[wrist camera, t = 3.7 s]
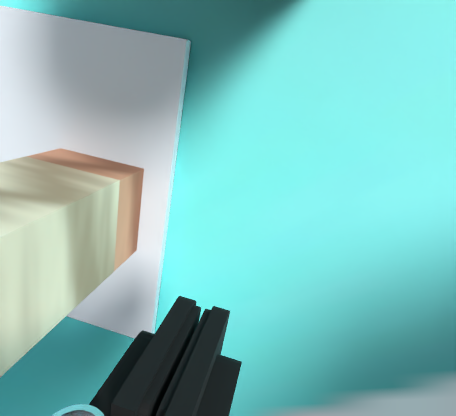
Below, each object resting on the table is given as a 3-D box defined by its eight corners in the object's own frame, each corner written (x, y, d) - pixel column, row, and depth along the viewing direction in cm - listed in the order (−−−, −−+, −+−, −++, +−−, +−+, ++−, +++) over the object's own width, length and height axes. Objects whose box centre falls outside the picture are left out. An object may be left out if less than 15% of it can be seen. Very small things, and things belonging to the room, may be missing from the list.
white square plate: (191, 41, 16) (186, 39, 15) (153, 337, 22) (150, 343, 22) (-104, -13, 18) (-117, -16, 18) (-60, 268, 25) (-68, 272, 24)
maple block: (144, 168, 18) (-30, 251, 9) (136, 250, 20) (-14, 390, 11) (60, 148, 19) (-182, 204, 9) (60, 228, 20) (-142, 342, 11)
